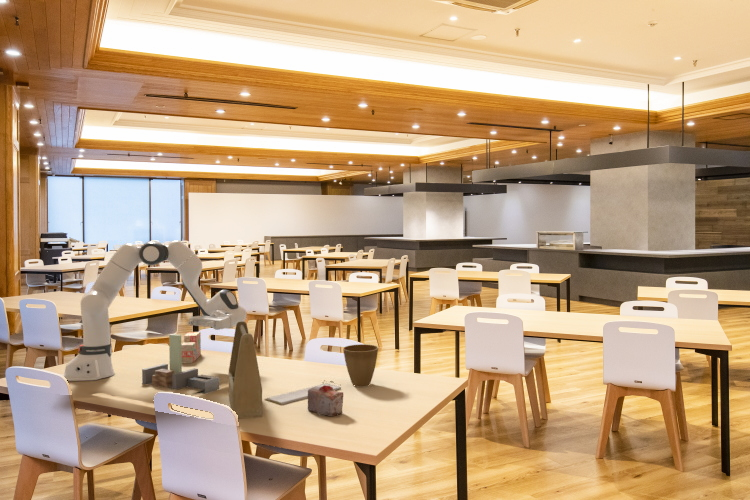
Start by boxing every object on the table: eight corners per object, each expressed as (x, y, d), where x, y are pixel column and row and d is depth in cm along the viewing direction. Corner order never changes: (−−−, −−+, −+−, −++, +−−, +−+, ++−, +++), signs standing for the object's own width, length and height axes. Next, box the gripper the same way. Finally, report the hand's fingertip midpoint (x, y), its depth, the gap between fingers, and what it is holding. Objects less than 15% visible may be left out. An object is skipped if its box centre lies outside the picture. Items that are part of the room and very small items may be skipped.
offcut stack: (176, 385, 250) (176, 370, 250) (167, 387, 246) (166, 373, 246) (161, 382, 254) (160, 368, 254) (151, 384, 250) (151, 370, 250)
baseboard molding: (262, 400, 235) (281, 406, 227) (262, 393, 235) (281, 399, 227) (321, 385, 258) (341, 390, 249) (321, 378, 258) (341, 383, 249)
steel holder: (219, 389, 249) (219, 377, 249) (205, 393, 242) (205, 381, 242) (201, 386, 254) (201, 374, 254) (187, 390, 247) (187, 378, 247)
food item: (346, 413, 217) (346, 386, 216) (332, 419, 210) (332, 391, 210) (319, 406, 225) (319, 380, 225) (304, 411, 219) (304, 385, 218)
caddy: (262, 416, 213) (262, 332, 212) (232, 419, 210) (231, 334, 209) (255, 394, 241) (254, 320, 240) (227, 396, 238) (227, 321, 237)
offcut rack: (198, 386, 253) (198, 368, 253) (176, 393, 243) (175, 374, 243) (164, 380, 263) (164, 363, 263) (142, 386, 253) (142, 369, 252)
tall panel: (181, 382, 255) (181, 335, 254) (179, 382, 254) (178, 335, 253) (172, 380, 258) (172, 334, 257) (169, 381, 256) (169, 334, 256)
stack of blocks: (193, 363, 297) (192, 338, 297) (180, 363, 297) (179, 339, 296) (200, 354, 319) (200, 331, 318) (188, 354, 318) (188, 331, 318)
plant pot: (357, 378, 267) (357, 342, 266) (384, 383, 258) (384, 346, 257) (336, 385, 254) (336, 348, 254) (364, 391, 246) (364, 352, 245)
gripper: (202, 311, 282) (179, 315, 270) (235, 314, 272) (213, 318, 260) (202, 325, 283) (180, 329, 271) (235, 328, 273) (213, 333, 261)
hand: (196, 324), depth 265 cm, fingers open, 8 cm apart
